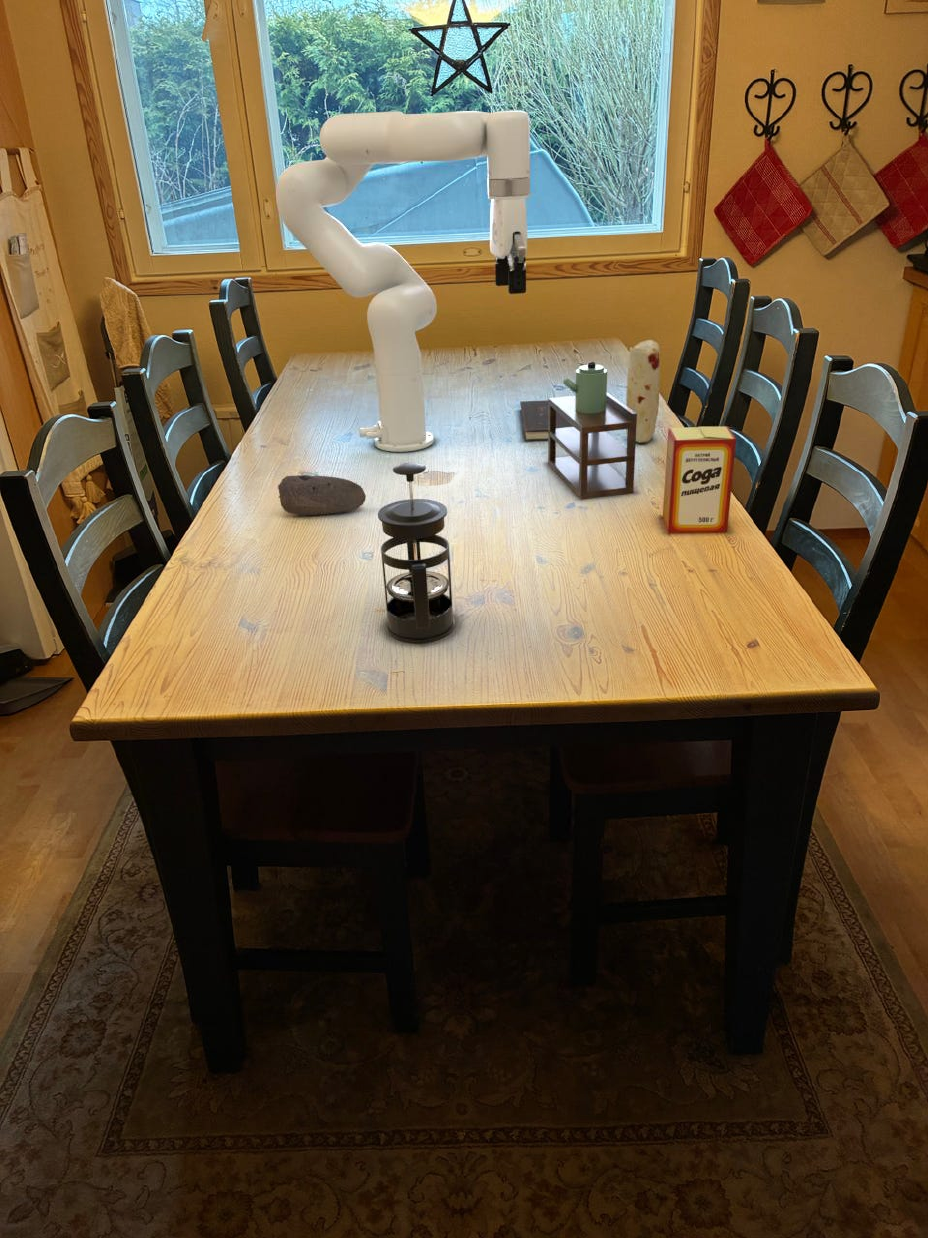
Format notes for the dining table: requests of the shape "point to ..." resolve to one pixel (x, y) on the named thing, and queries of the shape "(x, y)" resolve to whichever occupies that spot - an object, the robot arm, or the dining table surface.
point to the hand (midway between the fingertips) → (510, 289)
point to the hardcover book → (538, 420)
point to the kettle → (589, 388)
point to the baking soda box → (698, 479)
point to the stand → (592, 447)
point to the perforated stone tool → (319, 495)
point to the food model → (644, 387)
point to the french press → (416, 567)
